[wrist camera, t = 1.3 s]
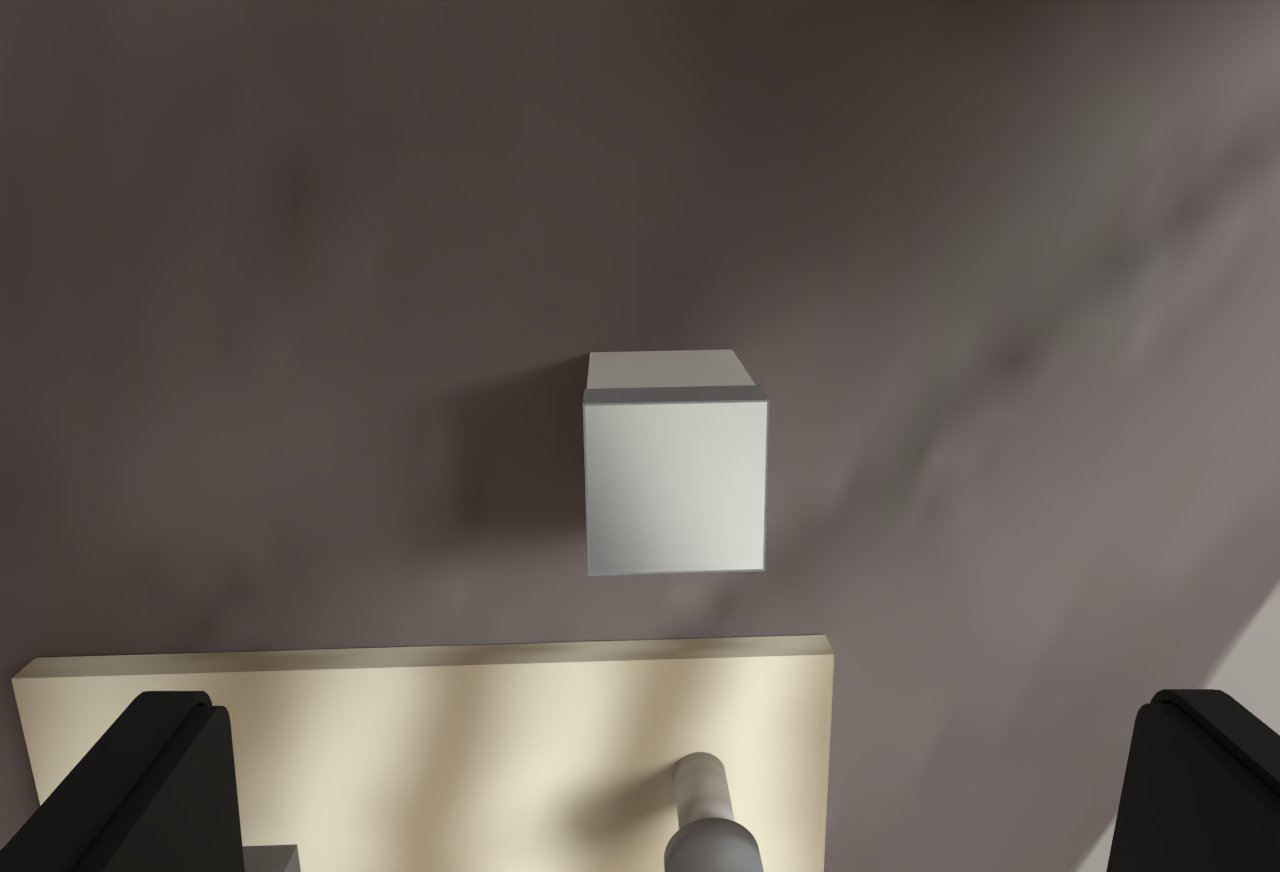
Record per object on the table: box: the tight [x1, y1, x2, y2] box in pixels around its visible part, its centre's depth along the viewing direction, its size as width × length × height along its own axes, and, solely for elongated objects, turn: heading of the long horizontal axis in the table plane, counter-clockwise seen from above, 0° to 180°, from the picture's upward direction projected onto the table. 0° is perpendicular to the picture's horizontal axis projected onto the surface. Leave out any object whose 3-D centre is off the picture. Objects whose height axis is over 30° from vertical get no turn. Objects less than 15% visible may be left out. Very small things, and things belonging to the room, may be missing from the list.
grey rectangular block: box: [583, 350, 769, 576], centre depth 24 cm, size 4×4×6 cm
